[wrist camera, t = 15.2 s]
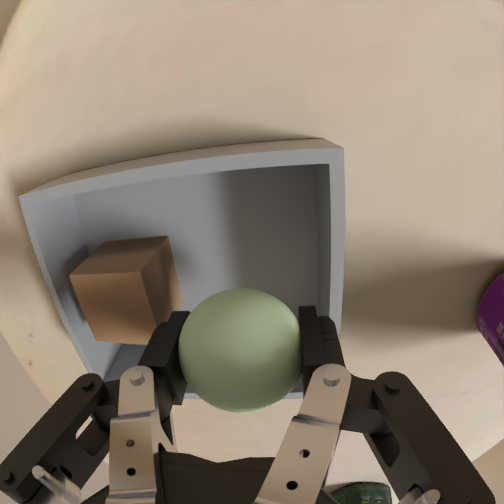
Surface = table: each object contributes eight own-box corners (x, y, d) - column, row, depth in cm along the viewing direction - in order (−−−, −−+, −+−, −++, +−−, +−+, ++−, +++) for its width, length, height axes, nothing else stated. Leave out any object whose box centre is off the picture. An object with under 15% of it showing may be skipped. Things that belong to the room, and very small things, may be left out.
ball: (183, 269, 13) (144, 345, 9) (299, 261, 13) (313, 342, 8) (203, 354, 15) (183, 433, 11) (301, 350, 15) (308, 433, 10)
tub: (67, 174, 17) (18, 196, 13) (323, 138, 16) (343, 147, 11) (121, 345, 23) (97, 388, 19) (324, 343, 21) (333, 395, 17)
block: (105, 241, 18) (68, 275, 14) (168, 235, 18) (139, 271, 14) (123, 300, 20) (95, 341, 16) (182, 299, 20) (163, 345, 16)
